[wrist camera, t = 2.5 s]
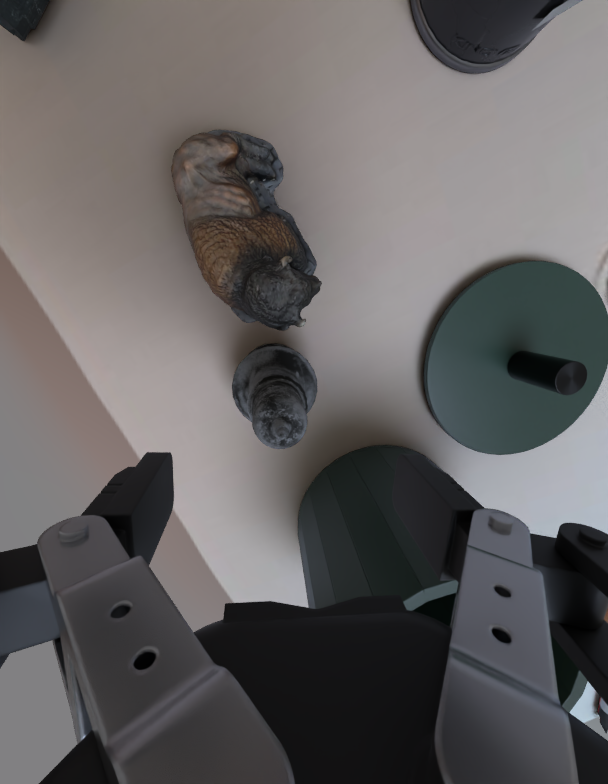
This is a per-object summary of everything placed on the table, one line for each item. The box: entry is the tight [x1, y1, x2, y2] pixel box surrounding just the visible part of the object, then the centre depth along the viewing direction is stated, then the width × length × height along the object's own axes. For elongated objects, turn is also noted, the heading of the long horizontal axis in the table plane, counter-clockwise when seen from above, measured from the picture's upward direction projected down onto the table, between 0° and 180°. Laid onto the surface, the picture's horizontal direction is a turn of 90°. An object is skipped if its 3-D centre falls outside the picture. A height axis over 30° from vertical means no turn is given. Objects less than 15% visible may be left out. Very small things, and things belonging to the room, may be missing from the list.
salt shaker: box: [232, 344, 317, 449], centre depth 21 cm, size 6×6×12 cm
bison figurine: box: [171, 130, 322, 331], centre depth 19 cm, size 12×7×10 cm, turn 25°
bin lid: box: [424, 261, 608, 455], centre depth 26 cm, size 16×16×6 cm
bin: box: [298, 445, 588, 712], centre depth 25 cm, size 15×15×14 cm
